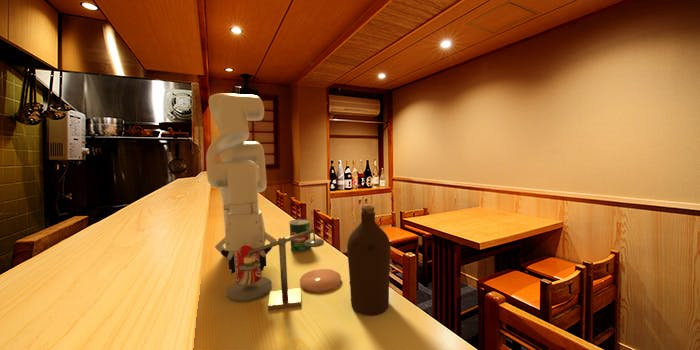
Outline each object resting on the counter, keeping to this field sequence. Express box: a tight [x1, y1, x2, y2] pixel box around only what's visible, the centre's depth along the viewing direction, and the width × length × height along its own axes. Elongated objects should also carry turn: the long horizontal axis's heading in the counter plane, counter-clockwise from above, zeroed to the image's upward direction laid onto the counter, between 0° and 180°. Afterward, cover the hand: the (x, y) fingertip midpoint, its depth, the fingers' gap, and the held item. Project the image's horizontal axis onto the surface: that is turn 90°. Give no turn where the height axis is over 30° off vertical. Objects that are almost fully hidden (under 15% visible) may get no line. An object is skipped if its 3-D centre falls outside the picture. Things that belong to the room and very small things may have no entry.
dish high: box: [299, 268, 342, 293], centre depth 83 cm, size 12×12×1 cm
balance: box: [239, 228, 325, 311], centre depth 73 cm, size 7×21×19 cm, turn 101°
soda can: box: [234, 243, 263, 286], centre depth 79 cm, size 7×7×12 cm
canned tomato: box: [289, 218, 312, 253], centre depth 110 cm, size 8×8×11 cm
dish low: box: [225, 276, 273, 303], centre depth 79 cm, size 12×12×1 cm
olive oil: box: [346, 205, 391, 316], centre depth 69 cm, size 11×11×25 cm
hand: (248, 269), depth 79 cm, fingers closed on soda can, 7 cm apart
